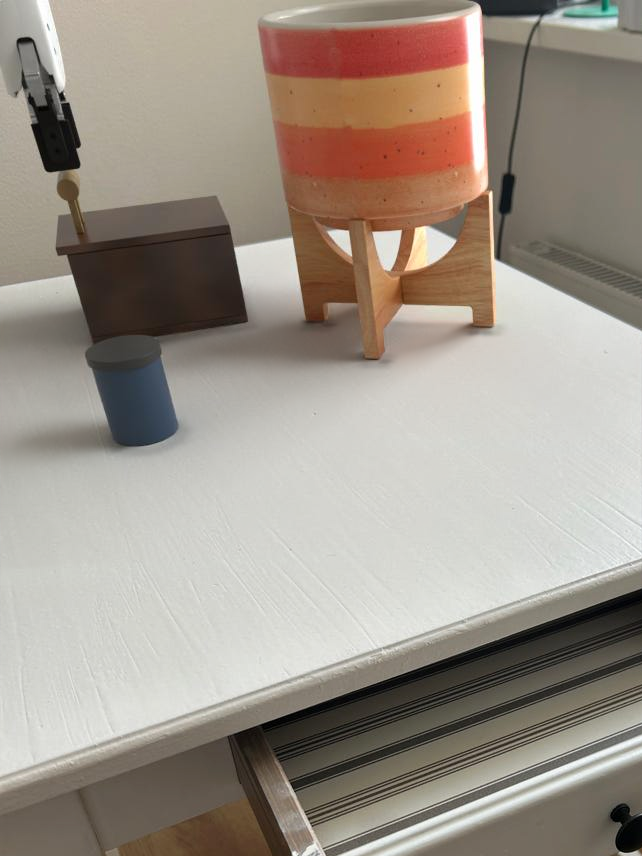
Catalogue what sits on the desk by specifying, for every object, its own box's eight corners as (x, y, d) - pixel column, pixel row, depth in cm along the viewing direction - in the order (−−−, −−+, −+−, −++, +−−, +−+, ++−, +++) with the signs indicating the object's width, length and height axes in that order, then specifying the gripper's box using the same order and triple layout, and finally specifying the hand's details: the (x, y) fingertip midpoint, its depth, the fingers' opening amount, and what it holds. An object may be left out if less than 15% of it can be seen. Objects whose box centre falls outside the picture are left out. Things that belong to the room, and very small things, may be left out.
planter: (337, 287, 109) (299, 1, 93) (513, 290, 105) (505, -7, 89) (272, 355, 94) (212, 28, 77) (475, 363, 90) (457, 20, 74)
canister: (102, 449, 80) (75, 364, 75) (119, 418, 84) (95, 336, 80) (173, 444, 80) (151, 359, 75) (186, 414, 84) (166, 332, 80)
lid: (57, 256, 93) (37, 191, 89) (60, 223, 102) (42, 163, 99) (231, 232, 96) (218, 169, 93) (218, 203, 106) (206, 144, 102)
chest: (93, 345, 98) (66, 255, 93) (93, 306, 108) (68, 222, 103) (248, 321, 102) (231, 233, 96) (234, 285, 111) (218, 203, 106)
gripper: (-38, -59, 89) (27, 147, 100) (-59, -51, 76) (19, 184, 86) (48, -66, 91) (103, 137, 101) (42, -60, 77) (106, 173, 88)
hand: (64, 159), depth 94 cm, fingers open, 9 cm apart
